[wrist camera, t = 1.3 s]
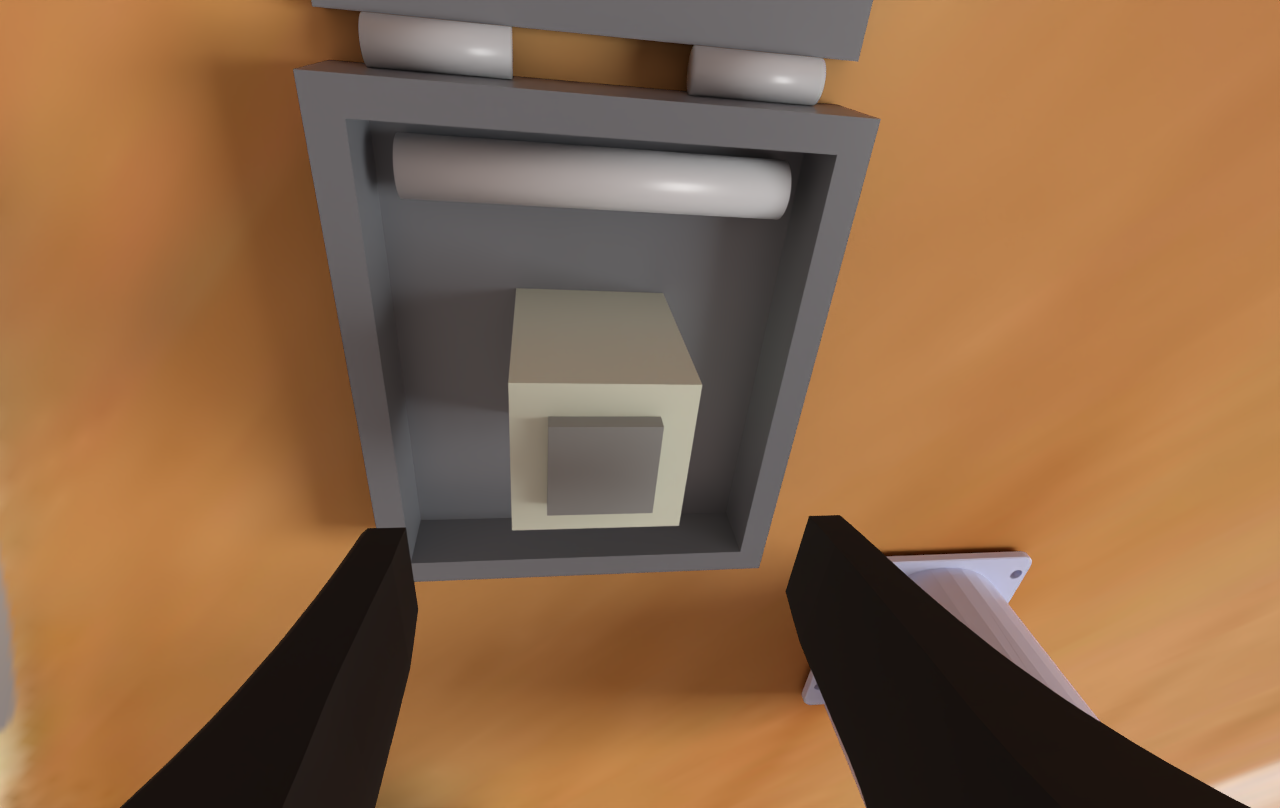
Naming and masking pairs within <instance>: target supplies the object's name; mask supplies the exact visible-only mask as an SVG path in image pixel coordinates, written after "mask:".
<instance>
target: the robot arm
mask: <svg viewBox="0 0 1280 808" xmlns="http://www.w3.org/2000/svg"><path fill="white" fill-rule="evenodd" d="M1031 563H1032V559H1031V558H1030V557H1029V556H1028V555H1027V553H1025V552H1022V551H1014V552H988V553H961V554H935V555H909V556H885V555H884V554H883V553H882V552H881V551H879V550H878V549H877V548H876V547H875V546H874V545H873V544H872V543H871V542H870V541H868V540H867V539H866V538H865V537H864V536H863V535H862V534H861V533H860V532H859V531H857V530H856V529H855V528H854V527H853V526H852V525H851V524H849V523H848V522H847V521H846V520H845V519H844V518H842V517H841V516H840V515H831V516H809V519H808V522H807V525H806V528H805V531H804V534H803V538H802V541H801V544H800V547H799V550H798V554H797V557H796V560H795V563H794V566H793V570H792V573H791V576H790V579H789V582H788V585H787V589H786V594H787V598H788V602H789V606H790V609H791V613H792V617H793V621H794V624H795V627H796V631H797V634H798V637H799V641H800V644H801V646H802V649H803V651H804V654H805V656H806V659H807V661H808V663H809V666H810V668H811V670H810V673H809V676H808V678H807V681H806V684H805V686H804V689H803V691H802V698H803V700H804V702H805V703H806V704H809V705H816V704H824V706H825V708H826V711H827V713H828V715H829V718H830V720H831V723H832V725H833V728H834V730H835V733H836V735H837V738H838V740H839V743H840V745H841V748H842V750H843V752H844V755H845V757H846V760H847V762H848V765H849V767H850V770H851V772H852V775H853V777H854V780H855V782H856V784H857V787H858V789H859V792H860V794H861V797H862V799H863V802H864V804H865V807H866V808H1250V807H1248V806H1246V805H1244V804H1242V803H1240V802H1238V801H1236V800H1234V799H1232V798H1231V797H1229V796H1227V795H1225V794H1223V793H1221V792H1219V791H1218V790H1216V789H1214V788H1212V787H1210V786H1209V785H1207V784H1205V783H1203V782H1201V781H1200V780H1198V779H1196V778H1194V777H1192V776H1191V775H1189V774H1187V773H1185V772H1183V771H1182V770H1180V769H1178V768H1176V767H1174V766H1173V765H1171V764H1169V763H1167V762H1166V761H1164V760H1162V759H1161V758H1159V757H1157V756H1155V755H1154V754H1152V753H1150V752H1149V751H1147V750H1145V749H1144V748H1142V747H1140V746H1138V745H1137V744H1135V743H1133V742H1132V741H1130V740H1128V739H1127V738H1125V737H1124V736H1122V735H1120V734H1119V733H1117V732H1116V731H1114V730H1113V729H1111V728H1109V727H1108V726H1106V725H1105V724H1103V723H1101V722H1100V721H1099V719H1098V718H1097V717H1096V715H1095V714H1094V713H1093V712H1092V710H1091V709H1090V708H1089V707H1088V705H1087V704H1086V703H1085V701H1084V700H1083V699H1082V698H1081V696H1080V695H1079V694H1078V693H1077V691H1076V690H1075V689H1074V687H1073V686H1072V685H1071V684H1070V682H1069V681H1068V680H1067V678H1066V677H1065V676H1064V675H1063V673H1062V672H1061V671H1060V670H1059V668H1058V667H1057V666H1056V664H1055V663H1054V662H1053V661H1052V659H1051V658H1050V657H1049V655H1048V654H1047V653H1046V652H1045V650H1044V649H1043V648H1042V647H1041V645H1040V644H1039V643H1038V641H1037V640H1036V639H1035V638H1034V636H1033V635H1032V634H1031V632H1030V631H1029V630H1028V629H1027V627H1026V626H1025V625H1024V624H1023V622H1022V621H1021V620H1020V618H1019V617H1018V616H1017V615H1016V613H1015V612H1014V611H1013V609H1012V608H1011V607H1010V606H1009V604H1008V603H1009V601H1010V599H1011V598H1012V596H1013V594H1014V593H1015V591H1016V589H1017V588H1018V586H1019V584H1020V583H1021V581H1022V579H1023V578H1024V576H1025V574H1026V573H1027V571H1028V569H1029V567H1030V566H1031ZM417 614H418V605H417V598H416V592H415V585H414V578H413V571H412V565H411V558H410V551H409V544H408V538H407V531H406V527H402V528H368V529H367V530H365V531H364V532H363V533H362V534H361V535H360V537H359V538H358V540H357V541H356V543H355V544H354V546H353V547H352V549H351V550H350V551H349V553H348V554H347V556H346V557H345V558H344V560H343V561H342V563H341V564H340V565H339V567H338V568H337V570H336V571H335V572H334V574H333V575H332V576H331V578H330V579H329V580H328V582H327V583H326V584H325V586H324V587H323V588H322V590H321V591H320V592H319V594H318V595H317V596H316V598H315V599H314V600H313V601H312V603H311V604H310V605H309V607H308V608H307V609H306V610H305V612H304V613H303V614H302V615H301V617H300V618H299V619H298V620H297V622H296V623H295V624H294V625H293V627H292V628H291V629H290V630H289V632H288V633H287V634H286V635H285V637H284V638H283V639H282V640H281V641H280V643H279V644H278V645H277V646H276V647H275V649H274V650H273V651H272V652H271V653H270V654H269V655H268V657H267V658H266V659H265V660H264V661H263V662H262V663H261V665H260V666H259V667H258V668H257V669H256V670H255V671H254V673H253V674H252V675H251V676H250V677H249V678H248V679H247V681H246V682H245V683H244V684H243V685H242V686H241V687H240V689H239V690H238V691H237V692H236V693H235V694H234V695H233V696H232V697H231V698H230V700H229V701H228V702H227V703H226V704H225V705H224V706H223V707H222V708H221V709H220V710H219V711H218V712H217V713H216V715H215V716H214V717H213V718H212V719H211V720H210V721H209V722H208V723H207V724H206V725H205V726H204V727H203V728H202V729H201V730H200V731H199V732H198V733H197V734H196V735H195V736H194V737H193V738H192V739H191V740H190V741H189V742H188V743H187V744H186V745H185V746H184V747H183V748H182V749H181V750H180V751H179V752H178V753H177V754H176V755H175V756H174V757H173V758H172V759H171V760H170V761H169V762H168V763H167V764H166V765H165V766H164V767H163V768H162V769H161V770H160V771H159V772H157V773H156V774H155V775H154V776H153V777H152V778H151V779H150V780H149V781H148V782H147V783H146V784H145V785H144V786H143V787H142V788H140V789H139V790H138V791H137V792H136V793H135V794H134V795H133V796H132V797H131V798H130V799H129V800H128V801H127V802H126V803H125V804H123V805H122V806H121V807H120V808H375V806H376V802H377V798H378V794H379V790H380V786H381V782H382V778H383V774H384V770H385V766H386V762H387V758H388V754H389V750H390V746H391V743H392V739H393V735H394V731H395V727H396V723H397V719H398V715H399V711H400V707H401V703H402V699H403V695H404V691H405V687H406V683H407V679H408V675H409V670H410V665H411V658H412V651H413V644H414V637H415V629H416V621H417Z"/></svg>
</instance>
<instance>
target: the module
mask: <svg viewBox="0 0 1280 808" xmlns="http://www.w3.org/2000/svg"><path fill="white" fill-rule="evenodd" d="M701 390H702V383H701V380H700V378H699V376H698V373H697V371H696V369H695V366H694V364H693V362H692V359H691V357H690V355H689V352H688V350H687V348H686V345H685V343H684V341H683V338H682V336H681V334H680V331H679V329H678V327H677V324H676V322H675V320H674V317H673V315H672V313H671V310H670V308H669V306H668V303H667V301H666V299H665V296H664V294H663V293H644V292H615V291H585V290H556V289H526V288H516V297H515V309H514V321H513V333H512V345H511V356H510V368H509V380H508V393H509V432H510V472H511V511H512V530H545V529H580V528H616V527H652V526H679V522H680V516H681V510H682V504H683V498H684V492H685V486H686V480H687V474H688V468H689V462H690V456H691V450H692V444H693V438H694V432H695V426H696V420H697V414H698V408H699V402H700V396H701Z"/></svg>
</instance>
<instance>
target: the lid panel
mask: <svg viewBox="0 0 1280 808" xmlns="http://www.w3.org/2000/svg"><path fill="white" fill-rule="evenodd" d="M311 1H312V6H314V7H324V8H333V9H343V10H353V11H363V12H361V13H360V15H359V22H358V30H359V41H360V48H361V53H362V57H363V60H364V62H365V64H366V66H367V67H373V68H384V69H396V70H407V71H419V72H430V73H442V74H453V75H465V76H476V77H488V78H499V79H511V80H512V79H513V39H512V27H522V28H532V29H542V30H552V31H562V32H571V33H581V34H591V35H601V36H611V37H621V38H631V39H641V40H651V41H661V42H671V43H681V44H690V45H694V46H693V47H692V50H691V53H690V57H689V62H688V69H687V92H688V95H694V96H705V97H717V98H728V99H740V100H751V101H763V102H774V103H786V104H797V105H809V106H814V105H815V104H816V103H817V102H818V100H819V99H820V97H821V94H822V91H823V88H824V84H825V78H826V64H825V61H824V59H823V58H829V59H839V60H849V61H858V60H859V56H860V52H861V48H862V43H863V39H864V35H865V31H866V27H867V23H868V19H869V15H870V11H871V6H872V2H873V0H311ZM370 12H373V13H370ZM380 13H383V14H380ZM390 14H393V15H390ZM400 15H403V16H400ZM410 16H413V17H410ZM420 17H423V18H420ZM430 18H433V19H430ZM440 19H443V20H440ZM449 20H452V21H449ZM459 21H462V22H459ZM469 22H472V23H469ZM479 23H482V24H479ZM489 24H492V25H489ZM499 25H502V26H499ZM509 26H512V27H509ZM698 45H700V46H698ZM708 46H710V47H708ZM717 47H720V48H717ZM727 48H730V49H727ZM737 49H740V50H737ZM747 50H750V51H747ZM757 51H760V52H757ZM767 52H770V53H767ZM777 53H780V54H777ZM787 54H790V55H787ZM797 55H800V56H797ZM807 56H809V57H807ZM817 57H819V58H817Z"/></svg>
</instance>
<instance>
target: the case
mask: <svg viewBox="0 0 1280 808" xmlns="http://www.w3.org/2000/svg"><path fill="white" fill-rule="evenodd" d="M293 72H294V77H295V83H296V88H297V94H298V99H299V105H300V110H301V116H302V121H303V127H304V132H305V138H306V143H307V149H308V154H309V160H310V165H311V171H312V176H313V182H314V187H315V193H316V198H317V204H318V209H319V215H320V220H321V226H322V231H323V237H324V242H325V248H326V253H327V259H328V265H329V270H330V276H331V281H332V287H333V292H334V298H335V303H336V309H337V314H338V320H339V325H340V331H341V336H342V342H343V347H344V353H345V358H346V364H347V369H348V375H349V380H350V386H351V391H352V397H353V402H354V408H355V413H356V419H357V424H358V430H359V435H360V441H361V446H362V452H363V457H364V463H365V468H366V474H367V479H368V485H369V491H370V496H371V502H372V507H373V513H374V518H375V524H376V528H402V527H406V531H407V538H408V544H409V551H410V558H411V565H412V571H413V578H414V582H421V581H445V580H470V579H495V578H520V577H545V576H570V575H595V574H620V573H645V572H669V571H694V570H719V569H744V568H759V566H760V562H761V558H762V554H763V551H764V547H765V543H766V540H767V536H768V532H769V529H770V525H771V521H772V518H773V514H774V510H775V507H776V503H777V499H778V496H779V492H780V488H781V484H782V481H783V477H784V473H785V470H786V466H787V462H788V459H789V455H790V451H791V448H792V444H793V440H794V437H795V433H796V429H797V425H798V422H799V418H800V414H801V411H802V407H803V403H804V400H805V396H806V392H807V389H808V385H809V381H810V378H811V374H812V370H813V367H814V363H815V359H816V355H817V352H818V348H819V344H820V341H821V337H822V333H823V330H824V326H825V322H826V319H827V315H828V311H829V308H830V304H831V300H832V296H833V293H834V289H835V285H836V282H837V278H838V274H839V271H840V267H841V263H842V260H843V256H844V252H845V249H846V245H847V241H848V237H849V234H850V230H851V226H852V223H853V219H854V215H855V212H856V208H857V204H858V201H859V197H860V193H861V190H862V186H863V182H864V179H865V175H866V171H867V167H868V164H869V160H870V156H871V153H872V149H873V145H874V142H875V138H876V134H877V131H878V127H879V123H880V120H881V119H879V118H876V117H873V116H870V115H867V114H864V113H861V112H858V111H855V110H852V109H849V108H846V107H843V106H840V105H835V104H824V103H816V104H815V105H814V106H809V105H797V104H786V103H774V102H763V101H751V100H740V99H728V98H717V97H705V96H694V95H688V92H687V91H676V90H665V89H654V88H642V87H631V86H620V85H608V84H597V83H586V82H574V81H563V80H551V79H540V78H529V77H517V76H513V79H512V80H511V79H499V78H488V77H476V76H465V75H453V74H442V73H430V72H419V71H407V70H396V69H384V68H373V67H367V66H366V64H365V63H359V62H347V61H336V60H327V61H323V62H319V63H315V64H311V65H307V66H303V67H299V68H295V69H293ZM516 288H526V289H556V290H585V291H615V292H644V293H663V294H664V296H665V299H666V301H667V303H668V306H669V308H670V310H671V313H672V315H673V317H674V320H675V322H676V324H677V327H678V329H679V331H680V334H681V336H682V338H683V341H684V343H685V345H686V348H687V350H688V352H689V355H690V357H691V359H692V362H693V364H694V366H695V369H696V371H697V373H698V376H699V378H700V380H701V383H702V390H701V396H700V402H699V408H698V414H697V420H696V426H695V432H694V438H693V444H692V450H691V456H690V462H689V468H688V474H687V480H686V486H685V492H684V498H683V504H682V510H681V516H680V522H679V526H652V527H616V528H580V529H545V530H512V511H511V472H510V432H509V393H508V380H509V368H510V356H511V345H512V333H513V321H514V309H515V297H516Z"/></svg>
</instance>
